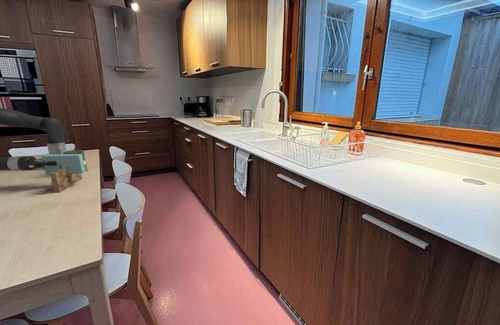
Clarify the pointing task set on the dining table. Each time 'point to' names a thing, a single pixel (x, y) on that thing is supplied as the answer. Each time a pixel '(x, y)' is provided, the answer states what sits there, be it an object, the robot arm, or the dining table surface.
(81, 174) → the coffee can
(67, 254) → the dining table surface
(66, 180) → the base plate
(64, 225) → the dining table surface
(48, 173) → the cross plate
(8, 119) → the robot arm
